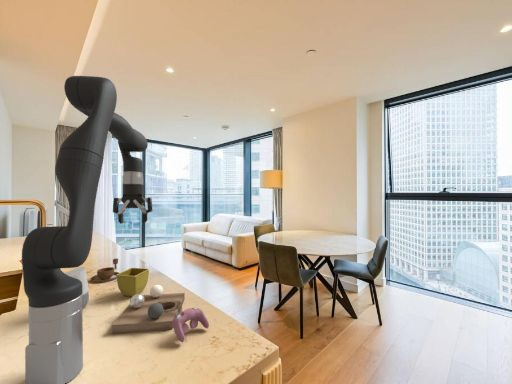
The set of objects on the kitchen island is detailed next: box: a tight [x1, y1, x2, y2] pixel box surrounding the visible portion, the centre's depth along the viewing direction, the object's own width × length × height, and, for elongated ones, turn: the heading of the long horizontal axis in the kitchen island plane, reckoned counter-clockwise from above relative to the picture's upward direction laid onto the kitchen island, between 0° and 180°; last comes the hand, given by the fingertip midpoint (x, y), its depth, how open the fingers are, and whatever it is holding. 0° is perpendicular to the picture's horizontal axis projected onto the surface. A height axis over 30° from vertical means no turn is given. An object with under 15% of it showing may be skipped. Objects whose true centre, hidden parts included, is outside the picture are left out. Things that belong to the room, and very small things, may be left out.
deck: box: [111, 292, 186, 335], centre depth 79 cm, size 20×18×2 cm
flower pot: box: [115, 267, 150, 297], centre depth 96 cm, size 9×9×9 cm
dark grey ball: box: [148, 303, 163, 319], centre depth 72 cm, size 4×4×4 cm
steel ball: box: [129, 293, 145, 308], centre depth 79 cm, size 4×4×4 cm
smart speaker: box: [64, 266, 90, 310], centre depth 83 cm, size 10×9×14 cm
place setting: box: [90, 258, 120, 284], centre depth 117 cm, size 18×20×6 cm
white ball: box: [149, 284, 164, 298], centre depth 87 cm, size 4×4×4 cm
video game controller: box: [172, 307, 210, 343], centre depth 68 cm, size 10×5×7 cm, turn 141°
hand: (133, 223), depth 96 cm, fingers open, 8 cm apart
